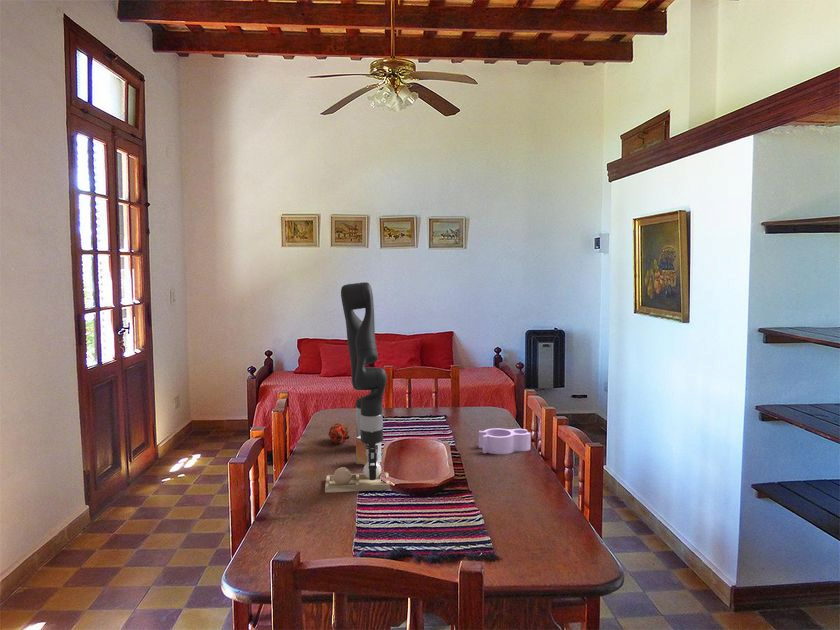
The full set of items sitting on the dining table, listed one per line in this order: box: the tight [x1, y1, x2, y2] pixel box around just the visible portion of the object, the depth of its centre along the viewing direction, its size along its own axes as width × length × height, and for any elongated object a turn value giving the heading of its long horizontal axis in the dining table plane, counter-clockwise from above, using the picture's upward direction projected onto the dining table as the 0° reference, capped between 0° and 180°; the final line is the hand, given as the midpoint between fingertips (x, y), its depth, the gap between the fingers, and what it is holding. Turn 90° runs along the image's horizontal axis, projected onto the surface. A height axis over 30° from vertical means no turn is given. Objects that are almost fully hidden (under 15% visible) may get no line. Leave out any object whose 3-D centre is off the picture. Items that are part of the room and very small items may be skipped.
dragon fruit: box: [328, 422, 351, 445], centre depth 237 cm, size 8×8×12 cm
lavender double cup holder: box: [478, 427, 532, 455], centre depth 227 cm, size 20×12×7 cm, turn 98°
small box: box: [355, 436, 382, 466], centre depth 211 cm, size 8×6×10 cm
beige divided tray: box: [324, 471, 391, 494], centre depth 190 cm, size 11×21×2 cm, turn 96°
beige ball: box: [333, 466, 352, 486], centre depth 189 cm, size 6×6×6 cm
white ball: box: [363, 462, 382, 478], centre depth 190 cm, size 6×6×6 cm
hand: (372, 475), depth 190 cm, fingers closed on white ball, 5 cm apart
